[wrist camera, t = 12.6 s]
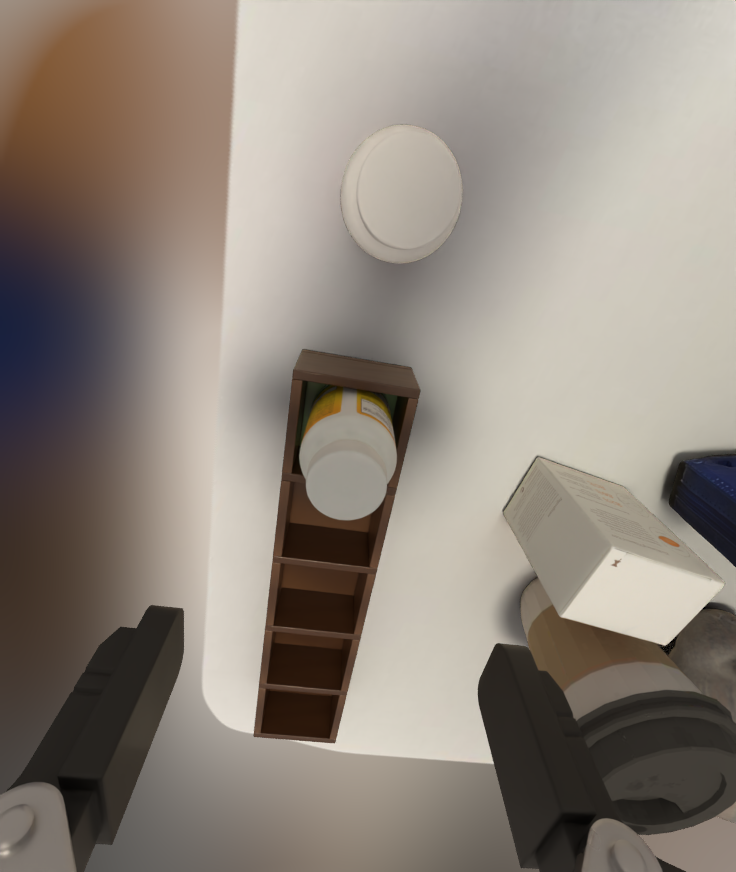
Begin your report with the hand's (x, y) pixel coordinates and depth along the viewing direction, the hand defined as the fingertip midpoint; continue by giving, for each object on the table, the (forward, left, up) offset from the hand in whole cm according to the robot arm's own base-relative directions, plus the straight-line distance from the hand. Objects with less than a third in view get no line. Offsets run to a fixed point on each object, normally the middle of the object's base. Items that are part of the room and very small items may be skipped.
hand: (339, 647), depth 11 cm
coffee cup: (+27, +5, -21) cm, 34 cm away
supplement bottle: (+1, -1, -20) cm, 20 cm away
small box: (+17, +9, -21) cm, 28 cm away
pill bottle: (-8, +8, -21) cm, 24 cm away
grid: (+12, -10, -21) cm, 26 cm away
